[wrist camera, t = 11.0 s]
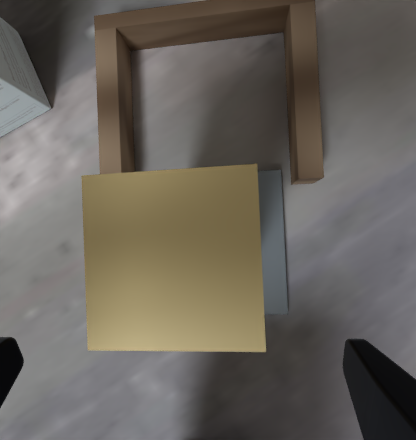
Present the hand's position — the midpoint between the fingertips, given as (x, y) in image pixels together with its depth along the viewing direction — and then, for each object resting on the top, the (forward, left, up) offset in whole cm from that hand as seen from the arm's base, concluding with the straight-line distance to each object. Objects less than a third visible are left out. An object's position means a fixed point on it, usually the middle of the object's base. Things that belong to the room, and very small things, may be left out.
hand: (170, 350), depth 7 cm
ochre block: (+2, 0, -12) cm, 12 cm away
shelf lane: (+11, 0, -13) cm, 17 cm away
